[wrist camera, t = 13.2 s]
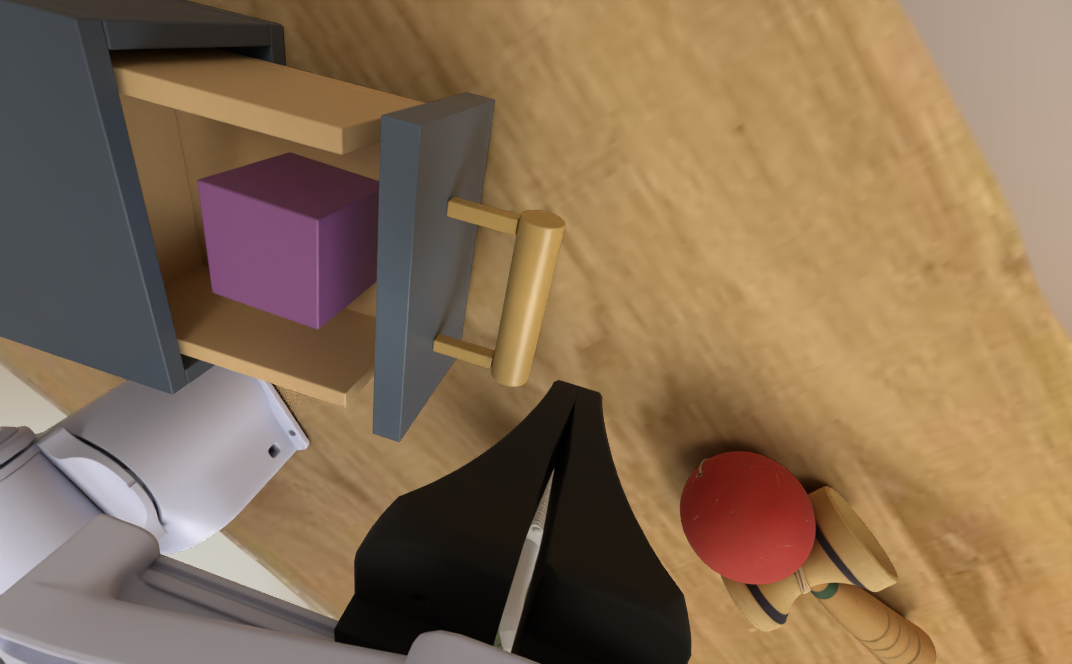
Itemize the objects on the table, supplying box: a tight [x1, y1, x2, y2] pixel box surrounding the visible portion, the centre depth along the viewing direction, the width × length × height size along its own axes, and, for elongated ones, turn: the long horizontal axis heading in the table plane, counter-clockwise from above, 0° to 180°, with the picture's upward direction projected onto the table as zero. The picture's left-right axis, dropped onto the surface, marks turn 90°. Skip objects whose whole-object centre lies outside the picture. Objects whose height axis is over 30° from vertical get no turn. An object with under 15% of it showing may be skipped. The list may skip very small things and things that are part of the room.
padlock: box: [499, 470, 554, 653], centre depth 27 cm, size 7×4×10 cm, turn 30°
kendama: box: [680, 451, 936, 664], centre depth 26 cm, size 8×6×18 cm
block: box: [197, 152, 379, 329], centre depth 20 cm, size 5×5×5 cm
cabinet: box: [0, 0, 285, 395], centre depth 22 cm, size 16×14×9 cm
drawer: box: [108, 47, 565, 442], centre depth 20 cm, size 19×12×7 cm, turn 78°
